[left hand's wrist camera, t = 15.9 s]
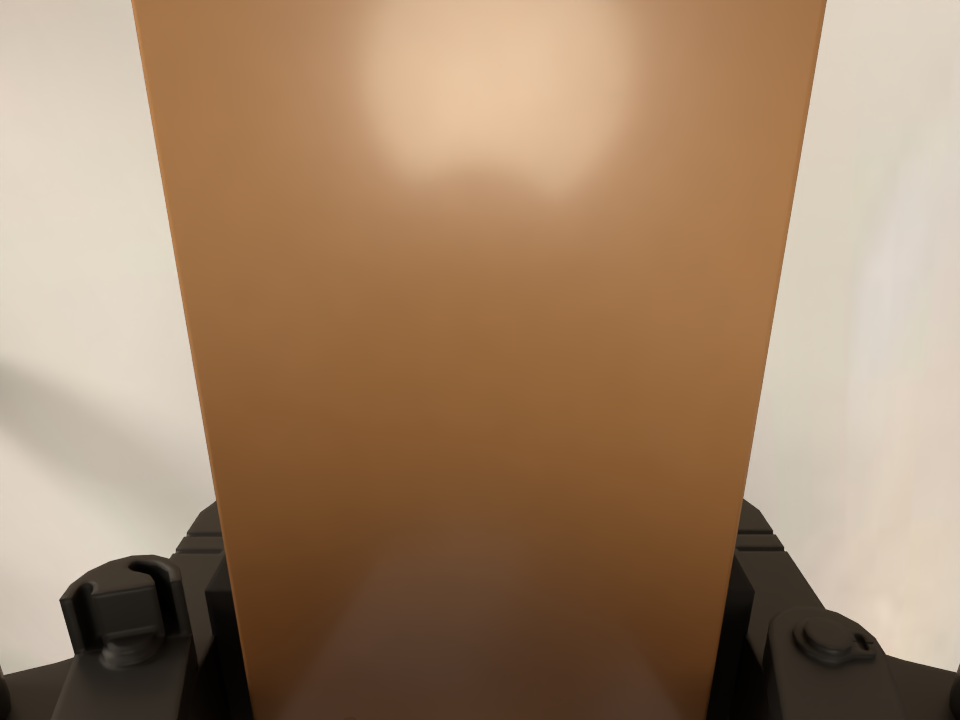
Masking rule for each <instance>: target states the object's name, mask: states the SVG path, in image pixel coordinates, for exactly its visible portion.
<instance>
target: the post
mask: <svg viewBox="0 0 960 720" xmlns="http://www.w3.org/2000/svg"><path fill="white" fill-rule="evenodd" d="M131 2H132V8H133V14H134V20H135V25H136V31H137V37H138V43H139V49H140V55H141V61H142V67H143V72H144V78H145V84H146V90H147V96H148V102H149V108H150V114H151V119H152V125H153V131H154V137H155V143H156V149H157V155H158V161H159V166H160V172H161V178H162V184H163V190H164V196H165V202H166V208H167V213H168V219H169V225H170V231H171V237H172V243H173V249H174V255H175V260H176V266H177V272H178V278H179V284H180V290H181V296H182V302H183V307H184V313H185V319H186V325H187V331H188V337H189V343H190V349H191V354H192V360H193V366H194V372H195V378H196V384H197V390H198V396H199V401H200V407H201V413H202V419H203V425H204V431H205V437H206V443H207V448H208V454H209V460H210V466H211V472H212V478H213V484H214V490H215V495H216V501H217V507H218V513H219V519H220V525H221V531H222V537H223V542H224V548H225V554H226V560H227V566H228V572H229V578H230V584H231V589H232V595H233V601H234V607H235V613H236V619H237V625H238V631H239V636H240V642H241V648H242V654H243V660H244V666H245V672H246V678H247V683H248V689H249V695H250V701H251V707H252V713H253V719H254V720H706V716H707V710H708V705H709V699H710V693H711V687H712V681H713V675H714V669H715V663H716V657H717V651H718V645H719V639H720V633H721V627H722V621H723V615H724V609H725V603H726V597H727V591H728V585H729V579H730V573H731V568H732V562H733V556H734V550H735V544H736V538H737V532H738V526H739V520H740V514H741V508H742V502H743V496H744V490H745V484H746V478H747V472H748V466H749V460H750V454H751V448H752V442H753V436H754V430H755V425H756V419H757V413H758V407H759V401H760V395H761V389H762V383H763V377H764V371H765V365H766V359H767V353H768V347H769V341H770V335H771V329H772V323H773V317H774V311H775V305H776V299H777V293H778V288H779V282H780V276H781V270H782V264H783V258H784V252H785V246H786V240H787V234H788V228H789V222H790V216H791V210H792V204H793V198H794V192H795V186H796V180H797V174H798V168H799V162H800V156H801V151H802V145H803V139H804V133H805V127H806V121H807V115H808V109H809V103H810V97H811V91H812V85H813V79H814V73H815V67H816V61H817V55H818V49H819V43H820V37H821V31H822V25H823V19H824V14H825V8H826V2H827V0H131Z"/></svg>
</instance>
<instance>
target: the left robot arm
mask: <svg viewBox="0 0 960 720" xmlns="http://www.w3.org/2000/svg"><path fill="white" fill-rule="evenodd" d="M59 601H60V604H61V608H62V611H63V615H64V618H65V622H66V625H67V629H68V632H69V636H70V639H71V643H72V646H73V650H74V653H75V656H74V658H71V659H67V660H64V661H61V662H58V663H54V664H50V665H45V666H41V667H37V668H33V669H28V670H24V671H20V672H16V673H11V674H7V675H3V672H2V669H1V666H0V720H254V719H253V713H252V707H251V701H250V695H249V689H248V683H247V678H246V672H245V666H244V660H243V654H242V648H241V642H240V636H239V631H238V625H237V619H236V613H235V607H234V601H233V595H232V589H231V584H230V578H229V572H228V566H227V560H226V554H225V548H224V542H223V537H222V531H221V525H220V519H219V513H218V507H217V501H215V502H214V503H213V504H211V505H210V506H209V507H207V508H206V509H205V510H203V511H202V512H200V514H199V515H198V517H197V518H196V520H195V521H194V523H193V524H192V526H191V527H190V529H189V530H188V532H187V537H184V538H183V539H182V541H181V542H180V544H179V545H178V547H177V548H176V553H175V554H172V556H171V557H170V559H168V558H164V557H160V556H156V555H135V556H129V557H125V558H121V559H117V560H113V561H110V562H107V563H105V564H103V565H101V566H99V567H97V568H95V569H92V570H90V571H88V572H87V573H85V574H84V575H83V576H81V577H80V578H79V579H77V580H76V581H75V582H73V583H72V584H71V585H70V586H69V587H68V589H67V590H66V591H65V593H64V594H63V595H62V597H61V598H60V600H59ZM706 720H960V665H959V667H958V670H957V673H956V672H952V671H948V670H943V669H939V668H935V667H931V666H926V665H922V664H918V663H913V662H909V661H905V660H902V659H898V658H895V657H892V656H889V655H886V654H885V653H884V651H883V649H882V648H881V646H880V645H879V643H878V642H877V640H876V638H875V637H874V636H872V635H871V634H870V633H869V632H868V631H866V630H865V629H864V628H863V627H862V626H861V625H859V624H858V623H856V622H854V621H852V620H851V619H849V618H847V617H845V616H843V615H841V614H839V613H837V612H833V611H830V610H826V609H825V608H824V606H823V605H822V603H821V602H820V600H819V599H818V597H817V596H816V594H815V593H814V591H813V590H812V588H811V587H810V585H809V584H808V582H807V581H806V579H805V578H804V576H803V575H802V573H801V572H800V570H799V569H798V567H797V566H796V564H795V563H794V561H793V560H792V558H791V557H790V555H789V554H788V552H787V551H784V546H783V545H782V543H781V542H780V540H779V539H778V537H777V536H776V535H773V530H772V528H771V527H770V525H769V524H768V522H767V521H766V519H765V518H764V516H763V515H762V513H761V512H760V510H758V509H757V508H755V507H754V506H753V505H751V504H750V503H749V502H747V501H746V500H745V499H743V502H742V508H741V514H740V520H739V526H738V532H737V538H736V544H735V550H734V556H733V562H732V568H731V573H730V579H729V585H728V591H727V597H726V603H725V609H724V615H723V621H722V627H721V633H720V639H719V645H718V651H717V657H716V663H715V669H714V675H713V681H712V687H711V693H710V699H709V705H708V710H707V716H706Z"/></svg>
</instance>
